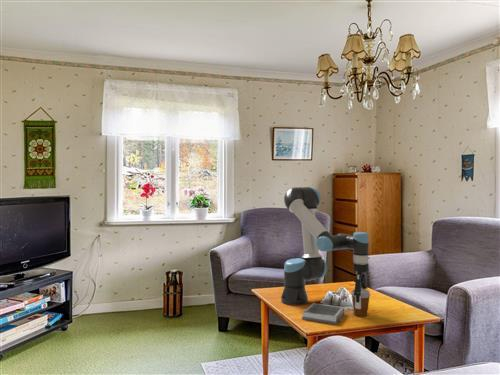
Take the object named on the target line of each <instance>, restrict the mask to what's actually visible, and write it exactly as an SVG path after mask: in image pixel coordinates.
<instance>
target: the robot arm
mask: <svg viewBox="0 0 500 375" xmlns="http://www.w3.org/2000/svg"><path fill="white" fill-rule="evenodd" d="M283 199H284V201H283V202H284V205H285V207H286V208H287V210H288V211H289V212H290V213H291V214H292V213H293V214H294V215H295V216H296V217H297V219H298V221H300V222H301V223H300V224H301V232H302V234H301V236H302V244H303V245H302V246H303V255H302V256H301V258H300V257H299V258H297V257H296V258H289V259H287V260H286V261H285V262H284V265H283V266H284V268H283V270H284V271H283V272H284V274H283V276H284V278H283V279H284V284H283V290H282V292H281V293H282V294H281V297H280V302H282V303H283V304H285V305H289V306H290V305H292V306H302V305H303V306H304V305H306V304H308V303H309V297H308V293H307V290H306V282H309V281H316V280H320V279H323V278H324V277H325V276H326V274H327V272H328V265H327V262H326V260H325V259H324V258H323V256H322V254H320V252H319V251H321V252H331V251H340V250H351V251H353V252H352V261H353V262H352V263H353V264H352V267H353V268H352V270H353V272H357V273H356V274H355V281H354V282H355V284H354V290H355V291H354V294H353V295H355V308H357V309H361V289H363V290H367V289H369V288H368V285H367V274H366V273H367V272H369V271H370V270H369V265H370V264H369V260H370V258H371V257H370V256H369V255H370V254H369V248H370V247H369V244H370V238H369V233H368V232H364V231H363V232H362V231H355V232H353V233H352V234H353V235H352V234H346V233H338V234H335V235H333V234H331V233H330V232H329V231H328V230H327V228H326V227H325V226H324V225H323V223H321V222H320V221H319V220H318V218H317V216H316V212H317V211H318V206H319V205H320V204H321V201H322V200H321V194H320V192H319V191H318V189H317V188H315V187H312V186H311V187H310V186H307V187H304V186H303V187H301V186H300V187H290V188H289V189H287V191H286V192H285V194H284V198H283ZM357 292H358V293H357Z"/></svg>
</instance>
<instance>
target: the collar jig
mask: <svg viewBox="0 0 500 375" xmlns="http://www.w3.org/2000/svg"><path fill="white" fill-rule="evenodd" d="M344 316H345V307H344V306H343V307H342V306H336V305H329V304H328V305H327V304H322V303H313V302H312V303H311V304H310V305H309V306H308V307H306V308H305V310H303V312H302V317H301V319H302V320H305V321H310V322H318V323H322V324H323V323H324V324H330V325H334V326H335V325H338V323H340V321H341V319H342V318H343V317H344Z"/></svg>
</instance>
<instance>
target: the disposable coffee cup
mask: <svg viewBox="0 0 500 375" xmlns="http://www.w3.org/2000/svg"><path fill="white" fill-rule="evenodd" d="M354 291H355V289H352V290H351V292H350V294H351V298H352V308H353V315H354V316H356V317H361V318H364V317H367V316H368V311H369V310H368V309H369V304H370V297H371V293H370V290H367V289H366V290H363V289H362V288H361V309H357V308H355V295H353V294H354ZM357 293H358V292H357Z"/></svg>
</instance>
